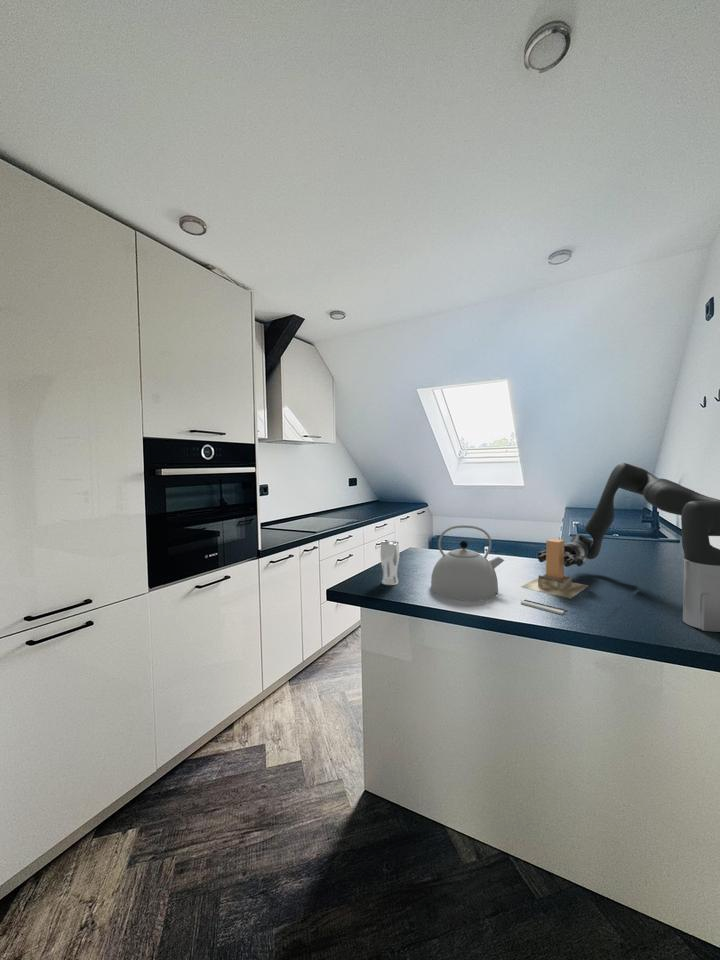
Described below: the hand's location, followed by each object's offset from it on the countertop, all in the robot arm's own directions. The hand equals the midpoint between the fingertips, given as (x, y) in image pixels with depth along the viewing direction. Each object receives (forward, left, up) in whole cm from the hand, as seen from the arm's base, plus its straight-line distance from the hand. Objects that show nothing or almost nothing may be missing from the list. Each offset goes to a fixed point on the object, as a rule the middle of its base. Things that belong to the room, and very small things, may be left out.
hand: (553, 561), depth 131 cm
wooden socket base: (+2, -1, -10) cm, 10 cm away
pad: (-14, +5, -10) cm, 18 cm away
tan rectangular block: (+2, -1, -9) cm, 9 cm away
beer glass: (-2, +56, -10) cm, 57 cm away
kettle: (-4, +29, -10) cm, 31 cm away
